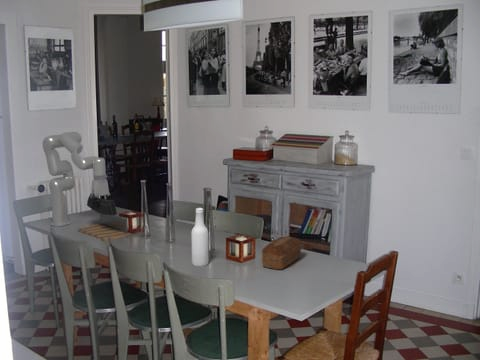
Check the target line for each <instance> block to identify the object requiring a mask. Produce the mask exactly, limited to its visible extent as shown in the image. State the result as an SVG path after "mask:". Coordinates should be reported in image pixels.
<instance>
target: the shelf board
mask: <svg viewBox="0 0 480 360" xmlns="http://www.w3.org/2000/svg"><path fill="white" fill-rule="evenodd" d="M76 229H77V231H78V232H80V233H82V234H85V235H87V236H90V235H91V236H90V237H94V238H95V237H96V239H98V240H100V239H101V240H100V241H104V242H108V237H110V238H111V240H110V241H114V240H118V239H122V238H126V237H131V232H128V233H124V232H121V231H119V230H116V229H113V228H110V227H107V226H104V225H101V222H100V223H96V224H90V225H87V226H81V227H77V228H76Z"/></svg>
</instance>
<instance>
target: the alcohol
mask: <svg viewBox="0 0 480 360" xmlns="http://www.w3.org/2000/svg"><path fill="white" fill-rule="evenodd" d="M194 223H195V224H194V226H193V228H192V229H191V233H190V235H191V264H192V265H193V266H195V267H204V266H207V265H209V258H210V257H209V231H208V228H207V226H206V225H205V219H204V208H202V207H197V208H195V221H194Z"/></svg>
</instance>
